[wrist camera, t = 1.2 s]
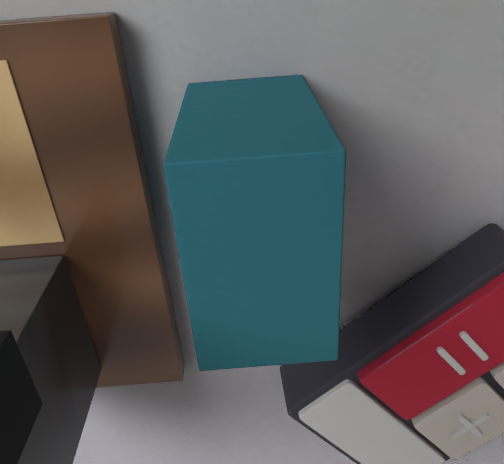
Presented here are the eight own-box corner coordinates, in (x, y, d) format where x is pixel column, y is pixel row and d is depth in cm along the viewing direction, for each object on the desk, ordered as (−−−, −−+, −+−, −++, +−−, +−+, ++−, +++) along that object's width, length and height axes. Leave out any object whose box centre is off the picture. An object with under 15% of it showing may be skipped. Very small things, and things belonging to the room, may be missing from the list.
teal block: (187, 82, 21) (162, 163, 13) (302, 74, 21) (346, 149, 13) (208, 239, 25) (198, 372, 17) (304, 232, 25) (338, 361, 17)
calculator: (623, 376, 26) (398, 503, 30) (571, 324, 30) (377, 444, 34) (535, 256, 21) (286, 425, 26) (486, 213, 25) (276, 366, 29)
